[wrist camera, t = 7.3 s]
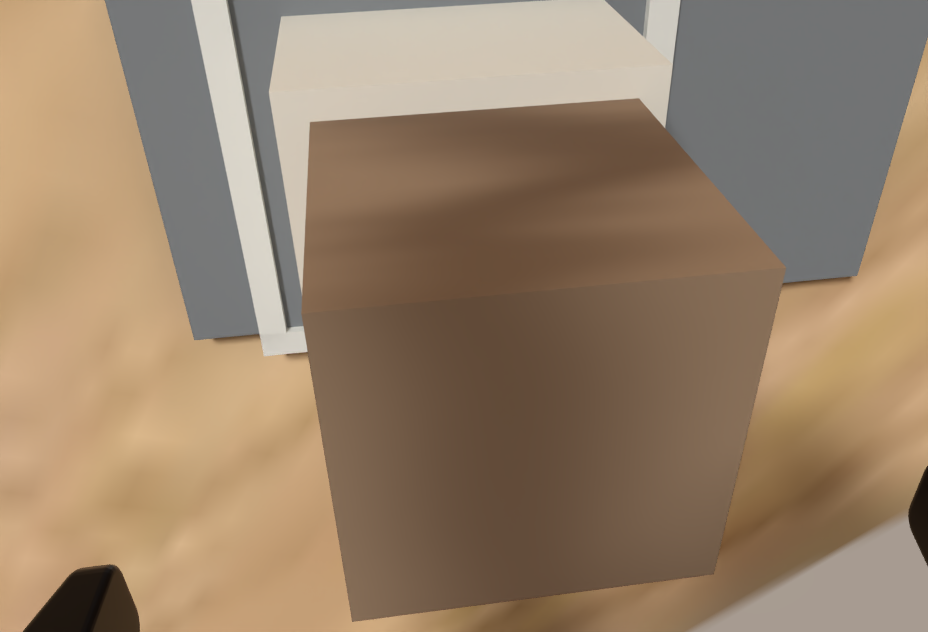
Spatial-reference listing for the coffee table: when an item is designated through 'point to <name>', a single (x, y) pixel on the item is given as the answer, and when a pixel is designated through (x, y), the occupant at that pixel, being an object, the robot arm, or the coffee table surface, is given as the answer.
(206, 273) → the grey flat rectangular panel
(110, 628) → the robot arm
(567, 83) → the base block
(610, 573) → the walnut cube
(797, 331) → the coffee table surface
